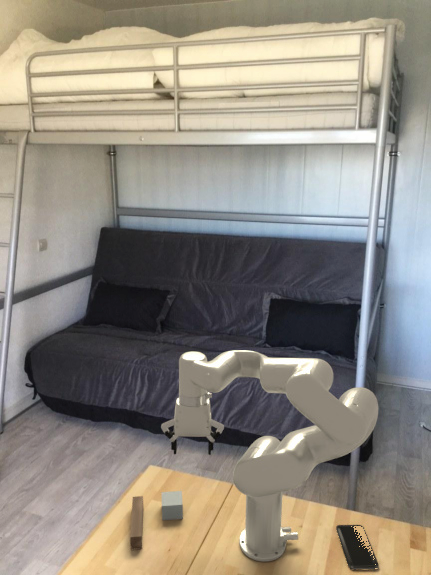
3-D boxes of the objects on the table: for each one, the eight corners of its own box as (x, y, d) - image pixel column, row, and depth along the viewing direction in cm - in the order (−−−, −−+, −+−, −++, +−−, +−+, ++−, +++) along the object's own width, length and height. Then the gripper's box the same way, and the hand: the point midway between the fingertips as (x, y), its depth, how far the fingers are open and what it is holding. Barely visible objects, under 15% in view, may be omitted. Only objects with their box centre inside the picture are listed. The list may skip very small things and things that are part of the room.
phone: (349, 567, 127) (335, 524, 141) (349, 571, 127) (335, 528, 141) (380, 567, 127) (363, 524, 141) (379, 571, 127) (362, 527, 141)
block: (181, 504, 150) (181, 490, 149) (182, 519, 144) (182, 504, 143) (161, 506, 149) (161, 492, 148) (162, 520, 144) (161, 506, 142)
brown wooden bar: (143, 507, 149) (142, 496, 148) (142, 548, 133) (141, 536, 132) (133, 508, 148) (132, 496, 147) (130, 549, 133) (130, 537, 132)
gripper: (224, 390, 138) (222, 444, 143) (162, 389, 138) (162, 443, 143) (225, 404, 131) (223, 460, 136) (159, 403, 131) (160, 459, 135)
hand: (192, 451), depth 139 cm, fingers open, 9 cm apart
